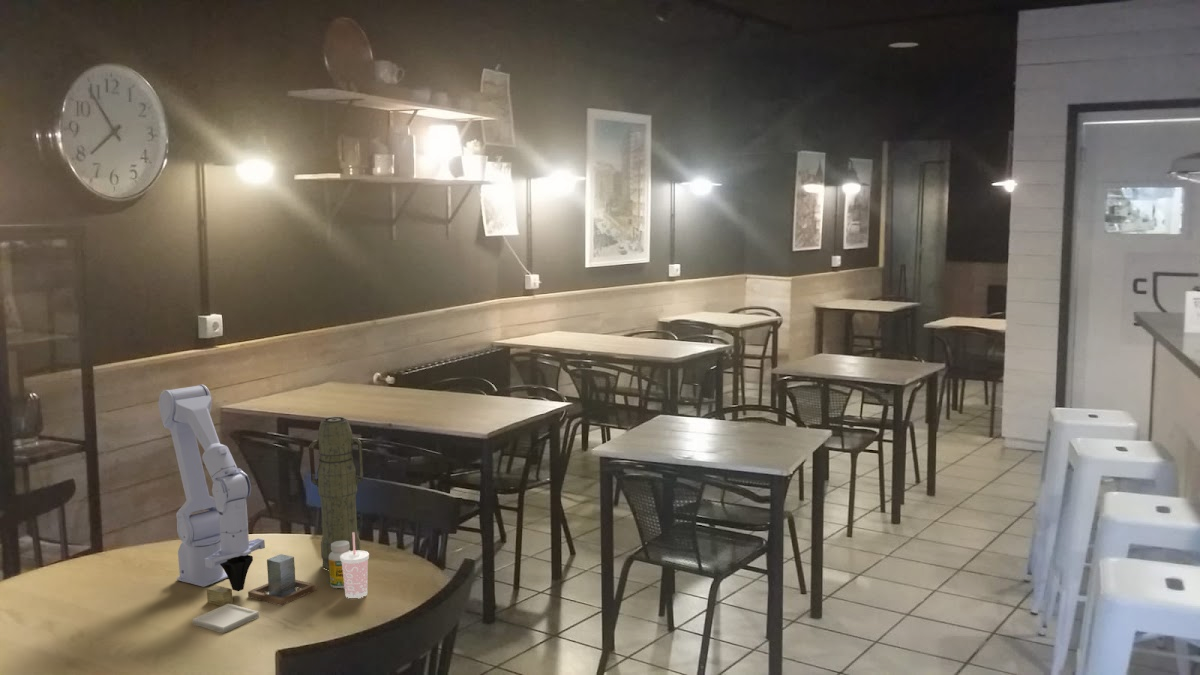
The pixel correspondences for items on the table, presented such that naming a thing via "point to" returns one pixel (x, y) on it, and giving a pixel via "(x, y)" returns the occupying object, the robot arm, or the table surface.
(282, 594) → the brushed metal block
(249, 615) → the tray
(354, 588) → the beverage cup
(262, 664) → the table surface
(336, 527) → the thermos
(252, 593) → the socket
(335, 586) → the supplement bottle
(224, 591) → the bar
